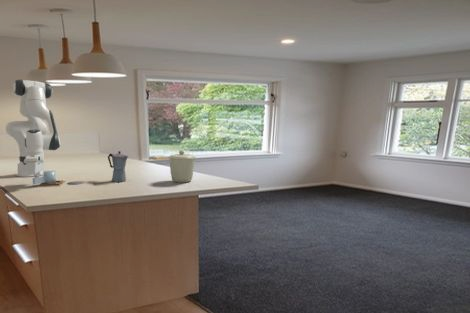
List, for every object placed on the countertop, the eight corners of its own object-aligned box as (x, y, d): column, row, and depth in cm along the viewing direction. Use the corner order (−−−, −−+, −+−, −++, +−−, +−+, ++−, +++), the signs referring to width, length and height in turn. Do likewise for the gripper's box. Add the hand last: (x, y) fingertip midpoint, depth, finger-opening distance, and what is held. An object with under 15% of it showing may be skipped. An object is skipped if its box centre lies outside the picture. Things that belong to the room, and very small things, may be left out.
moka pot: (125, 182, 212) (124, 152, 210) (103, 181, 215) (102, 151, 213) (132, 180, 222) (131, 150, 219) (112, 179, 225) (111, 150, 222)
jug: (51, 182, 206) (50, 170, 205) (58, 183, 203) (57, 171, 202) (30, 186, 194) (29, 173, 193) (37, 188, 191) (36, 174, 190)
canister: (181, 177, 232) (181, 148, 230) (201, 180, 222) (201, 149, 219) (162, 181, 217) (162, 150, 215) (182, 185, 207) (181, 152, 204)
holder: (43, 183, 209) (43, 180, 209) (66, 182, 213) (65, 179, 213) (35, 188, 193) (35, 185, 193) (60, 187, 197) (59, 184, 196)
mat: (69, 183, 210) (68, 181, 210) (85, 182, 212) (85, 180, 212) (65, 186, 200) (65, 184, 200) (83, 185, 203) (83, 184, 203)
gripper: (35, 155, 204) (36, 176, 206) (24, 159, 185) (25, 183, 186) (46, 154, 206) (47, 176, 207) (36, 158, 186) (38, 182, 188)
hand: (37, 179), depth 197 cm, fingers closed
